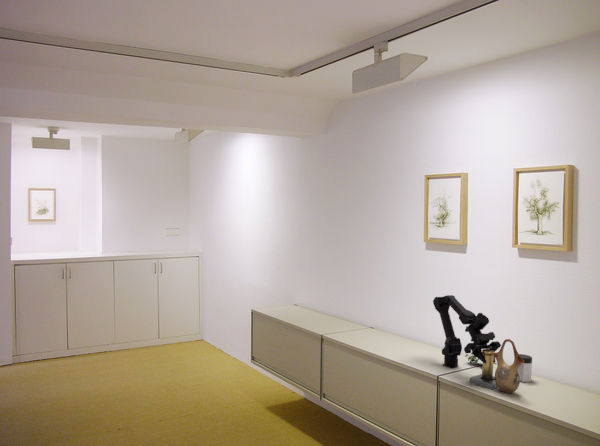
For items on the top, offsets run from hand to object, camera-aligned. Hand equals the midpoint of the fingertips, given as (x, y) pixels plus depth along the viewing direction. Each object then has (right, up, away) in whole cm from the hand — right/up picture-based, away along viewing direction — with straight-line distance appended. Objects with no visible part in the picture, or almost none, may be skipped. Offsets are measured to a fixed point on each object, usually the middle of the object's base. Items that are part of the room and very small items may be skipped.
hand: (489, 362), depth 259 cm
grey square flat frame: (-1, -11, +1) cm, 11 cm away
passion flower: (+6, -11, +33) cm, 36 cm away
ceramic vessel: (+4, -11, -10) cm, 16 cm away
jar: (+20, -12, +10) cm, 26 cm away
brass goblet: (-1, -8, +1) cm, 8 cm away
